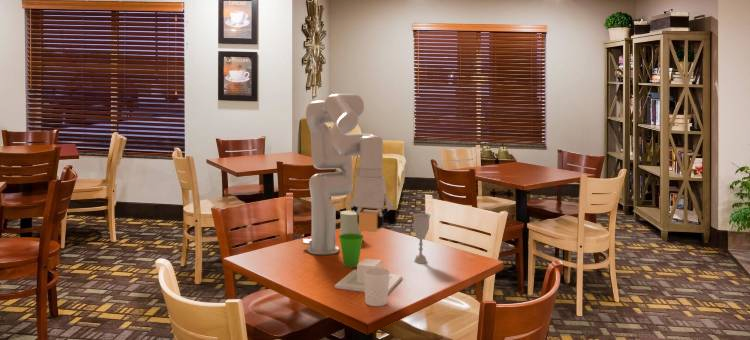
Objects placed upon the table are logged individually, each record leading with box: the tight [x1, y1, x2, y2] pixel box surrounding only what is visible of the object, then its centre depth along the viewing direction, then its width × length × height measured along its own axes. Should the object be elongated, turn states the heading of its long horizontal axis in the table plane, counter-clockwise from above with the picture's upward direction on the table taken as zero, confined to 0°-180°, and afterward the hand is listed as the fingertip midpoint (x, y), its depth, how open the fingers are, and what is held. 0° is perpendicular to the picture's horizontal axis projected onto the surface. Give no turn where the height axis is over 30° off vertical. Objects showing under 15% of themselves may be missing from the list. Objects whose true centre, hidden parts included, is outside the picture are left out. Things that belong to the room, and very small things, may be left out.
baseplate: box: [334, 269, 403, 294], centre depth 207 cm, size 18×18×1 cm
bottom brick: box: [356, 257, 383, 283], centre depth 206 cm, size 6×8×6 cm
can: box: [339, 209, 362, 236], centre depth 265 cm, size 9×9×12 cm
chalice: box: [412, 212, 432, 264], centre depth 232 cm, size 7×7×18 cm
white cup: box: [364, 267, 391, 307], centre depth 188 cm, size 8×8×10 cm
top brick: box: [359, 208, 383, 233], centre depth 204 cm, size 6×6×6 cm
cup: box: [338, 233, 364, 268], centre depth 226 cm, size 9×9×11 cm
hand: (370, 226), depth 204 cm, fingers closed on top brick, 6 cm apart
